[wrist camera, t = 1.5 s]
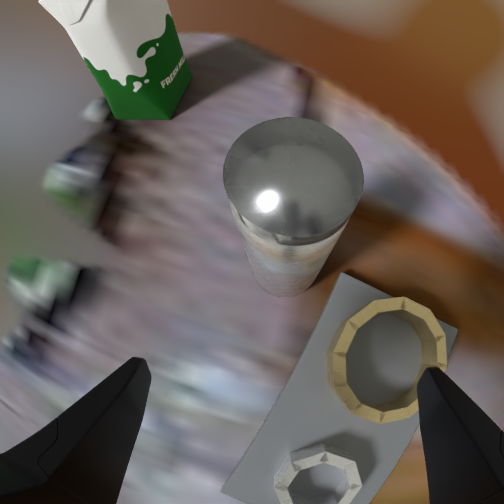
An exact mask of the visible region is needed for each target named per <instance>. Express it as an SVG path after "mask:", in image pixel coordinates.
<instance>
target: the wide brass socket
mask: <svg viewBox="0 0 504 504" xmlns="http://www.w3.org/2000/svg"><path fill="white" fill-rule="evenodd" d="M387 313H391V314H393V315H395V316H397V317H399V318H401V319H403V320H405V321H407V322H409V323H410V325H411V326H412V328H413V329H414V331H415V333H416V334H417V336H418V337H419V339H420V341H421V356H422V365H421V367H420V369H419V372H418V374H417V376H416V379H415V381H414V383H413V385H412V386H411V387H410V388H409V389H408V390H407V391H406V392H404V393H403V394H402V395H401V396H400V397H398V398H397V399H396V400H395V401H391V402H387V403H381V404H376V405H370V404H367V403H365V402H362V401H360V400H358V399H357V397H356V396H355V394H354V393H353V391H352V390H351V388H350V387H349V385H348V384H347V381H346V358H345V354H346V352H347V350H348V348H349V346H350V344H351V342H352V340H353V337H354V335H355V333H356V331H357V329H358V328H359V327H360V326H362V325H363V324H364V323H366V322H367V321H368V320H370V319H371V318H372V317H373V316H375V315H379V314H387ZM326 363H327V383H328V384H329V386H330V387H331V388H332V390H333V391H334V393H335V394H336V396H337V397H338V399H339V400H340V402H341V403H342V405H343V406H344V407H345V408H346V409H347V410H348V411H350V412H351V413H352V414H354V415H357V416H359V417H362V418H365V419H367V420H370V421H373V422H375V423H378V424H383V423H388V422H392V421H397V420H401V419H405V418H409V417H411V416H412V415H414V414H415V413H416V412H417V411H418V410H419V408H418V397H417V383H418V381H419V379H420V378H421V376H422V374H423V372H424V370H425V369H426V368H428V367H439V368H440V369H441V370H442V371H443V372H445V370H446V367H447V353H446V336H445V333H444V331H443V330H442V328H441V326H440V325H439V323H438V321H437V320H436V318H435V317H434V315H433V313H432V312H431V310H430V309H428V308H426V307H424V306H422V305H420V304H418V303H416V302H414V301H412V300H410V299H408V298H406V297H397V298H389V299H380V300H374V301H372V302H369V303H367V304H365V305H363V306H362V307H361V308H359V309H358V310H357V311H355V312H354V313H353V314H351V315H350V316H349V317H347V318H346V319H345V320H343V321H342V322H340V323H339V325H338V328H337V330H336V332H335V334H334V336H333V338H332V340H331V342H330V344H329V346H328V348H327V351H326Z"/></svg>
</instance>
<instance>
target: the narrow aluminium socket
mask: <svg viewBox="0 0 504 504" xmlns="http://www.w3.org/2000/svg"><path fill="white" fill-rule="evenodd" d="M321 463H326V464H329V465H332V466H335V467H338V468H341V469H343V473H344V478H343V479H342V481H341V482H340V484H339V485H338V486H337V488H336V489H335V491H334V492H333V493H330V494H327V495H324V496H321V497H318V498H315V499H309V498H306V497H303V496H300V495H297V494H294V493H292V491H291V488H290V483H291V482H292V480H293V479H294V478H295V476H296V475H297V473H298V472H299V470H303V469H306V468H309V467H312V466H315V465H318V464H321ZM361 487H362V483H361V480H360V476H359V473H358V469H357V466H356V462H355V460H354V459H353V458H352V456H351V455H350V453H349V452H347V451H344V450H341V449H338V448H335V447H333V446H330V445H327V444H325V443H322V442H321V443H318V444H315V445H312V446H309V447H306V448H303V449H300V450H296V451H293V452H290V453H289V455H288V456H287V458H286V459H285V461H284V462H283V464H282V465H281V467H280V468H279V470H278V471H277V473H276V474H275V476H274V489H275V492H276V494H277V497H278V499H279V502H280V504H350V502H351V501H352V500H353V498H354V497H355V496H356V494H357V493H358V491H359V490H360V489H361Z"/></svg>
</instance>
